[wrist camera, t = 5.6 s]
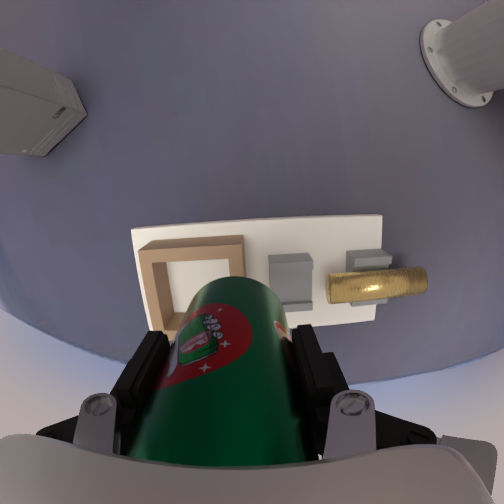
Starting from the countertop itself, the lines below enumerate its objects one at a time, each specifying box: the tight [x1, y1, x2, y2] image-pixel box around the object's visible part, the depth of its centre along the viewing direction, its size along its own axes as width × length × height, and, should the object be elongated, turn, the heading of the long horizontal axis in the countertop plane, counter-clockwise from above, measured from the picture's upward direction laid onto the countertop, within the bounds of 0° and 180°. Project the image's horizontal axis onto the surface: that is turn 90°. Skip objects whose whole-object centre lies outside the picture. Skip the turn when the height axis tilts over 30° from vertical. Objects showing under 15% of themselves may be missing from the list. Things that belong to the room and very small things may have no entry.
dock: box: [131, 214, 392, 341], centre depth 28 cm, size 26×12×5 cm, turn 93°
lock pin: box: [325, 267, 428, 304], centre depth 26 cm, size 10×3×3 cm, turn 93°
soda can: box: [125, 276, 319, 466], centre depth 9 cm, size 5×5×12 cm
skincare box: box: [0, 47, 87, 157], centre depth 18 cm, size 8×7×16 cm
